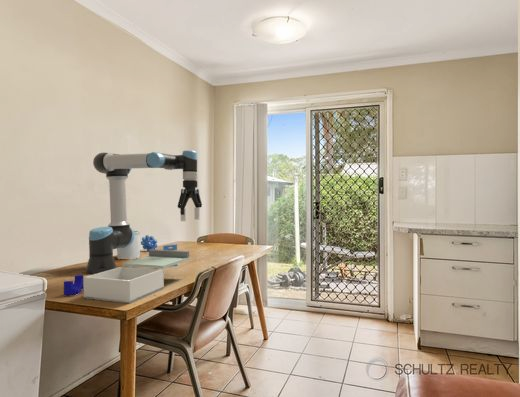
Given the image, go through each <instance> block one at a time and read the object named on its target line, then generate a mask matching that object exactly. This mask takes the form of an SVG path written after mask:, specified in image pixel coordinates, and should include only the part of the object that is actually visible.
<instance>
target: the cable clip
mask: <svg viewBox="0 0 520 397" xmlns="http://www.w3.org/2000/svg"><path fill="white" fill-rule="evenodd" d="M81 289H82V290H84V275H83V274H81V275H80V274H79V275H78V274H77V275H74V280H64V281H63V296H64V295H76V294H78V293H79V294H81V293H82V290H81ZM80 292H81V293H80ZM79 294H78V295H79ZM76 296H77V295H76Z"/></svg>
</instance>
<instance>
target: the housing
mask: <svg viewBox="0 0 520 397" xmlns="http://www.w3.org/2000/svg"><path fill="white" fill-rule="evenodd" d="M164 270H165V269H161V268H146V267H131V266H119V267H116V268H115V269H111V270H108V271H104V272H101V273H97V274H91V275H87V276H83V299H84V298H86V299H85V300H92V299H95V301H101V300H102V302H111V301H112V302H114V303H120V304H132V303H135V302H137V301H139V300H141V299H144V298H146V297H148V296H150V295H153V294H155V293H157V292H160V291H162V290H164V289H165V287H164V286H165V284H164V283H165V279H164V277H165V276H164Z"/></svg>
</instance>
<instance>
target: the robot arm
mask: <svg viewBox="0 0 520 397" xmlns="http://www.w3.org/2000/svg"><path fill="white" fill-rule="evenodd" d="M92 160H93V161H92V164H93V167H94V169H95V170H96V171H97V172H99V173H101V174H105V178H106V179H107V180H108V183H109V184H108V186H109V188H108V189H109V210H110V213H109V214H110V222H109V224H108V225H107V226H101V227H94V228H92V229H91V230H89V234H88V247H89V248H88V250H89V255H88V256H89V259H88V261H87V265H86V267H85V273H86V274H89V273H91V275H94V274H97V273H101V272H104V271H108V270H111V269H115V268H117V264H116V261H115V258H114V255H113V254H114V253H113V252H114V250H117V248H124V247H127V246H129V245H130V244H131V243H132V242H133V240H134V231H133V228H131V226H130V223H129V222H128V221H127V220H128V219H127V194H126V180H127V179H128V177H129V176H128V175H129V174H130V173H131V171H132V169H164V170H168V171H170V170H171V171H172V170H182V187H183V188H181V190H180V195H179V199H178V203H177V208H178V209H180V212H179V213H180V222H187V208H186V206H187V204H188V201H189V199H191V200H192V203H193V204H194V220H200V218H201V217H200V214H201V213H200V212H201V211H200V210H201V209H200V208H202V206H203V204H202V200H201V196H200V190H199V189H196V188H198V152H197V151H196V150H190V149H189V150H183V151H182V153H181V154H179V155H177V154H175V155H173V154H168V153H164V152H163V153H161V152H159V151H155V152H154V151H151V152H150V153H127V154H126V153H125V154H120V153H118V154H117V153H111V152H100V153H98V154H96V155H95V156H94V158H93V159H92Z"/></svg>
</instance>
